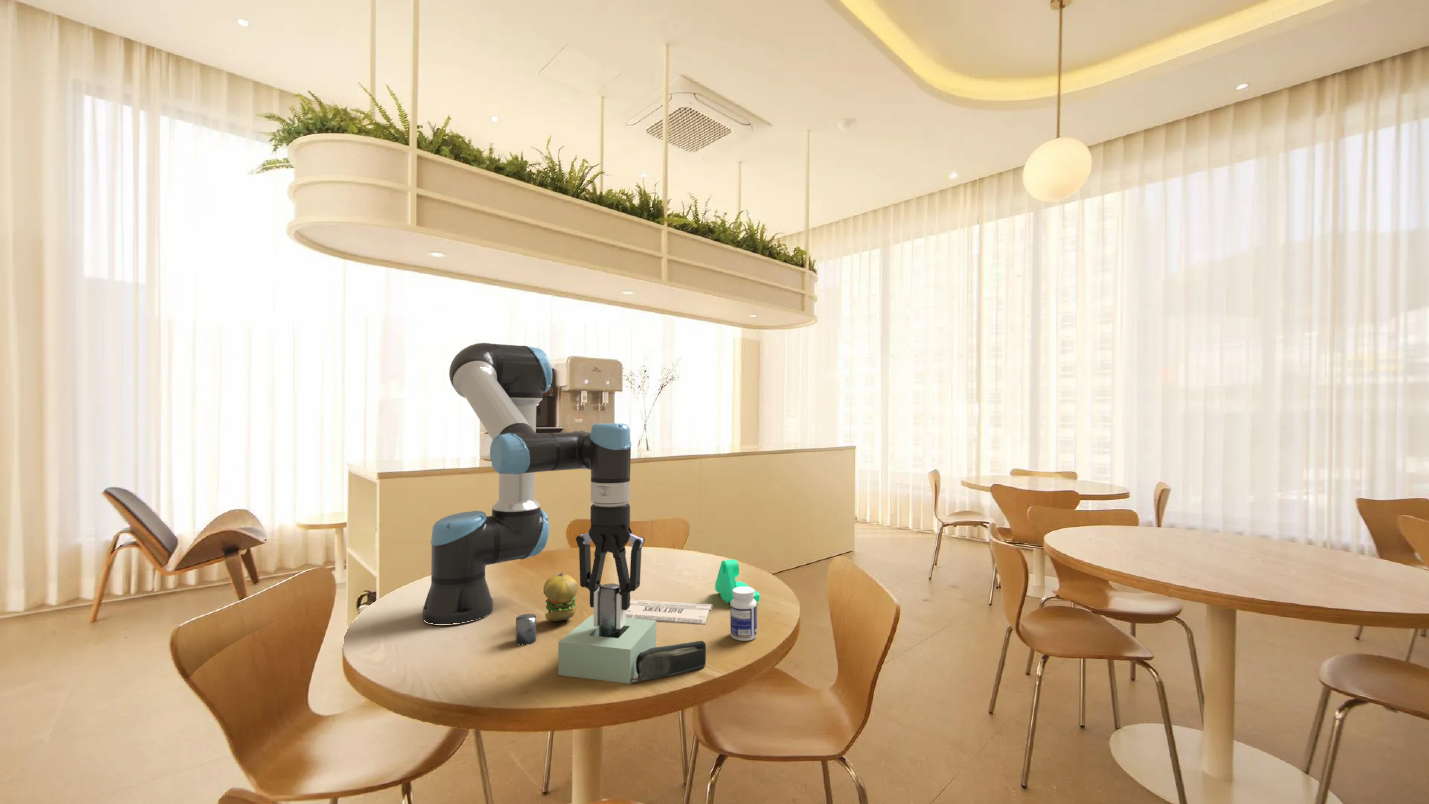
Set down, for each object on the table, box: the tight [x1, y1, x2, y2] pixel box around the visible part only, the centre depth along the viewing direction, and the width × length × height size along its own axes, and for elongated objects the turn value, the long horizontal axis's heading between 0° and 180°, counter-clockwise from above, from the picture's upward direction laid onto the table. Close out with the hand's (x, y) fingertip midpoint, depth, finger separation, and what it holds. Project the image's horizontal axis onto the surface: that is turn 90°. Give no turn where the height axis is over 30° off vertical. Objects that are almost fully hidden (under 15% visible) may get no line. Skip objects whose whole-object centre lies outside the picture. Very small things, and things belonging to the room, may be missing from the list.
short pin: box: [515, 613, 537, 646], centre depth 116 cm, size 4×4×5 cm
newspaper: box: [626, 598, 714, 625], centre depth 133 cm, size 23×12×2 cm, turn 81°
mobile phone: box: [630, 640, 707, 684], centre depth 102 cm, size 5×3×15 cm
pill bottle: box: [729, 586, 758, 642], centre depth 119 cm, size 6×6×10 cm
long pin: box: [599, 583, 620, 638], centre depth 106 cm, size 4×4×11 cm
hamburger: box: [543, 571, 579, 622], centre depth 126 cm, size 8×7×12 cm
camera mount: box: [714, 559, 761, 604], centre depth 142 cm, size 12×8×10 cm, turn 22°
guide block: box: [557, 614, 657, 685], centre depth 106 cm, size 14×14×6 cm
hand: (609, 624), depth 106 cm, fingers closed on long pin, 4 cm apart
